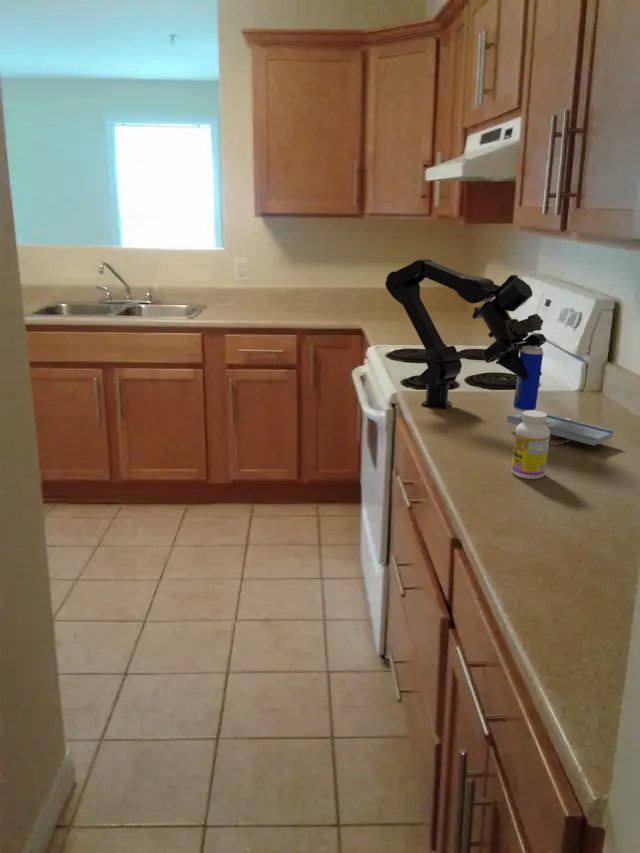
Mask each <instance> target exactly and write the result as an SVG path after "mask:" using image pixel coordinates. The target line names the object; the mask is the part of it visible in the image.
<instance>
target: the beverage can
mask: <svg viewBox="0 0 640 853" xmlns="http://www.w3.org/2000/svg"><path fill="white" fill-rule="evenodd" d="M543 355H544V350H543V348H542V347H541V346H540V347H536V346H523V347H522V349H521V351H520V353H519V357H520V360H521V362H522V364H523V366H524V368H525V370H526V372H527V374H528V377H529V378H528V379H527V380H524V379H522V378H521V377H519V376H518V375H516V382H515V392H514V400H513V408H514V409H515V410H516V411H519V412H521V413H523V412H524V411H529V410H534V411H536V408H537V401H538V400H537V399H538V395H539V394H538V393H539V388H540V386H539V385H540V380H541V379H540V378H541V376H540V373H542V364H543V357H544V356H543Z"/></svg>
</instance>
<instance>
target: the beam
mask: <svg viewBox="0 0 640 853" xmlns="http://www.w3.org/2000/svg"><path fill="white" fill-rule="evenodd" d="M522 414H523V412H521V413H517V414H514V415H512V414H508V415H507V420H506V423H507V424H508V423H509V424H513V425H516V426H518V425H519V424H520V423H523V419H522ZM546 414H547V421H546V422H545V425H546V426H547V427H548V428H549V430H550V434H553V435H556V436H560V437H564V438H567V439H571V440H570V441H575V442H580V443H582V444H587V445H591V446H596V445H598V444H600V443H603V442H605V441H608V440H610V439H612V438H614V430H613V429H609V428H605V427H602V426H597V425H595V424H590V423H585V422H582V421H579V420H573V419H572V418H569V417H563V416H562V417H561V416H557V415H553V414H549V413H546Z"/></svg>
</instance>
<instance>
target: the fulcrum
mask: <svg viewBox="0 0 640 853" xmlns="http://www.w3.org/2000/svg"><path fill="white" fill-rule="evenodd" d="M567 441H568V442H570V441H572V440H571V439H567V438H564V437H560V436H556V435H553V434H550V438H549V443H552V444H555V445H554V446H556V445H558V446H560V445H562V444H561V443H563V444H565V443H568V442H567ZM564 442H565V443H564ZM552 444H551V445H552ZM559 444H560V445H559Z"/></svg>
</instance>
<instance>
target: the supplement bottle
mask: <svg viewBox="0 0 640 853" xmlns="http://www.w3.org/2000/svg"><path fill="white" fill-rule="evenodd" d="M522 413H523V414H522V419H523V423H520V424H519V425H516V427H515V433H514V442H513V449H512V456H511V457H512V458H511V468H510V471H511V472H512V474H513V475H514V476H516V477H519V478H521V479H525V480H537V479H541V478H543V477H544V476H545V474H546V468H547V460H548V451H549V445H550V444H549V438H550V430H549V428H548V427H547V426H546V425H545V422H546V421H547V414H548V413H546V412H544V411H541V410H529V411H524V412H522Z"/></svg>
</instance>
